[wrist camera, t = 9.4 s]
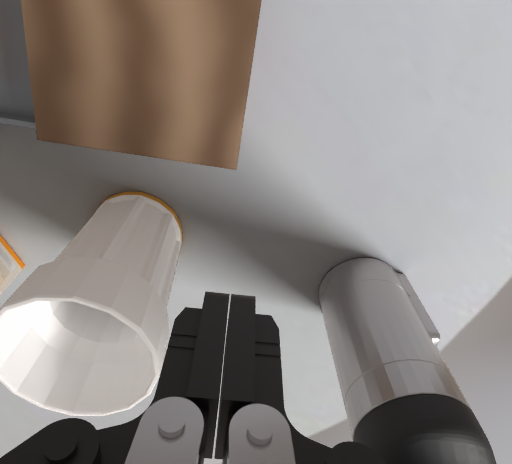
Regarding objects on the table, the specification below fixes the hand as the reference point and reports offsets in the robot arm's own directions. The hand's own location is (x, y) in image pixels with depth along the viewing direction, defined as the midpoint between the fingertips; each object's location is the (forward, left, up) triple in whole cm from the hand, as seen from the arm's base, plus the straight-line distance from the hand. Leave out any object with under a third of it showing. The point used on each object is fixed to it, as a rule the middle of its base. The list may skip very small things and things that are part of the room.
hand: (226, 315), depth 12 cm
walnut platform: (+8, -4, -26) cm, 28 cm away
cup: (+9, +14, -26) cm, 31 cm away
